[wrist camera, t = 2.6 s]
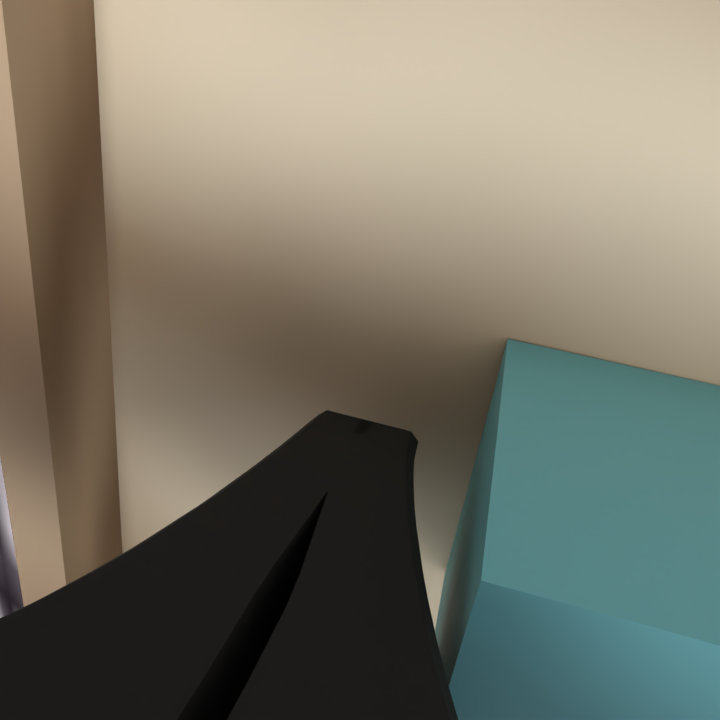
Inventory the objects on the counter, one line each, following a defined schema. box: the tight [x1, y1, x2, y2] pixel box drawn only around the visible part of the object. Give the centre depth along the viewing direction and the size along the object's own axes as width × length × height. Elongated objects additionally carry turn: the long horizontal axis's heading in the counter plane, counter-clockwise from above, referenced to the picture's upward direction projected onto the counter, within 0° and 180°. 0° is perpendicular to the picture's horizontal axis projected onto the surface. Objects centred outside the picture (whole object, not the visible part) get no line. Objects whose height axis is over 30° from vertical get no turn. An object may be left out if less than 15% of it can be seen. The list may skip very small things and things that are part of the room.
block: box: [435, 339, 720, 720], centre depth 7 cm, size 4×4×4 cm
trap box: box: [0, 0, 720, 629], centre depth 12 cm, size 24×14×4 cm, turn 173°
